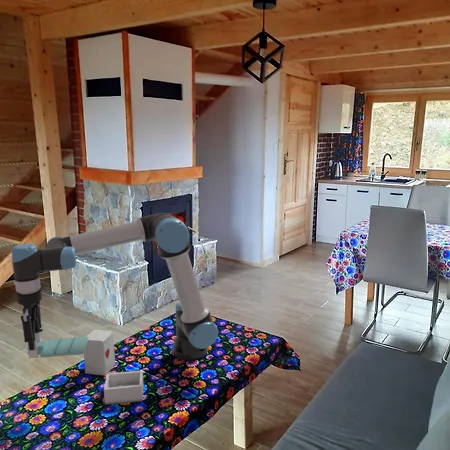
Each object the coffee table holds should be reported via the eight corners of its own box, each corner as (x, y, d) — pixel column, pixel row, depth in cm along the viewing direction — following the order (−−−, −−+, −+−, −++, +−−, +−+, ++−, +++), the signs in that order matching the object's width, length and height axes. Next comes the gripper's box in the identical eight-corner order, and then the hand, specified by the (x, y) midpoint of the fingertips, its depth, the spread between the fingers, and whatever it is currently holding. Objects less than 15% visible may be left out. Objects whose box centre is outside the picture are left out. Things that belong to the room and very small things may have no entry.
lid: (88, 341, 154) (88, 333, 153) (83, 356, 143) (82, 348, 143) (34, 345, 151) (33, 337, 150) (25, 361, 141) (24, 352, 140)
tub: (143, 384, 160) (142, 370, 159) (142, 401, 151) (141, 386, 150) (108, 388, 159) (107, 373, 157) (105, 404, 149) (103, 389, 148)
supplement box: (105, 376, 166) (103, 341, 163) (84, 373, 168) (81, 339, 165) (116, 364, 175) (113, 330, 172) (96, 361, 177) (93, 328, 173)
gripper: (24, 282, 149) (31, 342, 154) (7, 301, 132) (16, 368, 137) (46, 280, 150) (53, 341, 155) (33, 299, 133) (40, 366, 139)
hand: (35, 353), depth 146 cm, fingers closed on lid, 4 cm apart
